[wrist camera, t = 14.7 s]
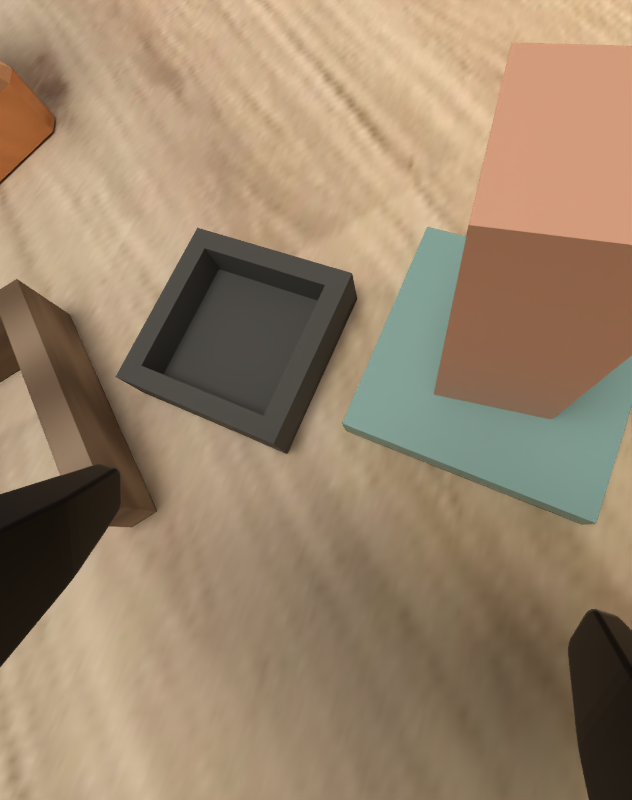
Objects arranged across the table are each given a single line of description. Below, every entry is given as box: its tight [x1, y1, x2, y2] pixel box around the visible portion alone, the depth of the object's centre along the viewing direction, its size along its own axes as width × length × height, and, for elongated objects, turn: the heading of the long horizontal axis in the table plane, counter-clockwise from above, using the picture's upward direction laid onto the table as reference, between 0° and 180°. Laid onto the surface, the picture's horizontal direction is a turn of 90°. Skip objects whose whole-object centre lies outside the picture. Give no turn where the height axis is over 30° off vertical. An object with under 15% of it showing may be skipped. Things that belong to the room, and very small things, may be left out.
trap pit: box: [116, 228, 357, 454], centre depth 24 cm, size 9×9×2 cm
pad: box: [342, 227, 632, 524], centre depth 22 cm, size 11×11×2 cm
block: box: [434, 43, 632, 420], centre depth 15 cm, size 5×5×12 cm
